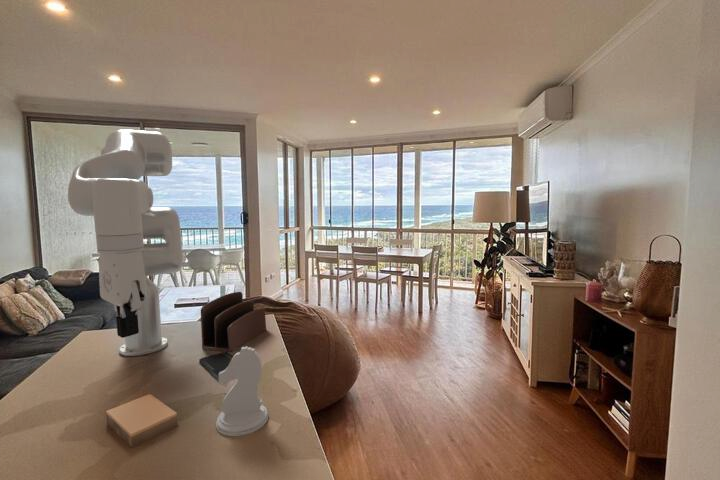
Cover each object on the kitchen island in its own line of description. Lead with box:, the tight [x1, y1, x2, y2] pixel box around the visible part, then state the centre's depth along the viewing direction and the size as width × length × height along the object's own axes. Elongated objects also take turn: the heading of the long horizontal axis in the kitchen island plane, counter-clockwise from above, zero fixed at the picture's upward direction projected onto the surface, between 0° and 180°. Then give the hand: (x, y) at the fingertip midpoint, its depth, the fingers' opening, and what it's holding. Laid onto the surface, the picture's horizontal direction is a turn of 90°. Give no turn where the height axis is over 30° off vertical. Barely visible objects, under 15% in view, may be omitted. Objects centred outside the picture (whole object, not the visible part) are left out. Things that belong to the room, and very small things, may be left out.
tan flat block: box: [105, 393, 179, 448], centre depth 70 cm, size 3×8×12 cm
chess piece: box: [215, 345, 269, 437], centre depth 70 cm, size 10×10×15 cm
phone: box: [198, 351, 234, 381], centre depth 95 cm, size 8×1×15 cm
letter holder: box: [200, 291, 267, 353], centre depth 114 cm, size 10×20×14 cm, turn 163°
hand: (128, 334), depth 71 cm, fingers closed
